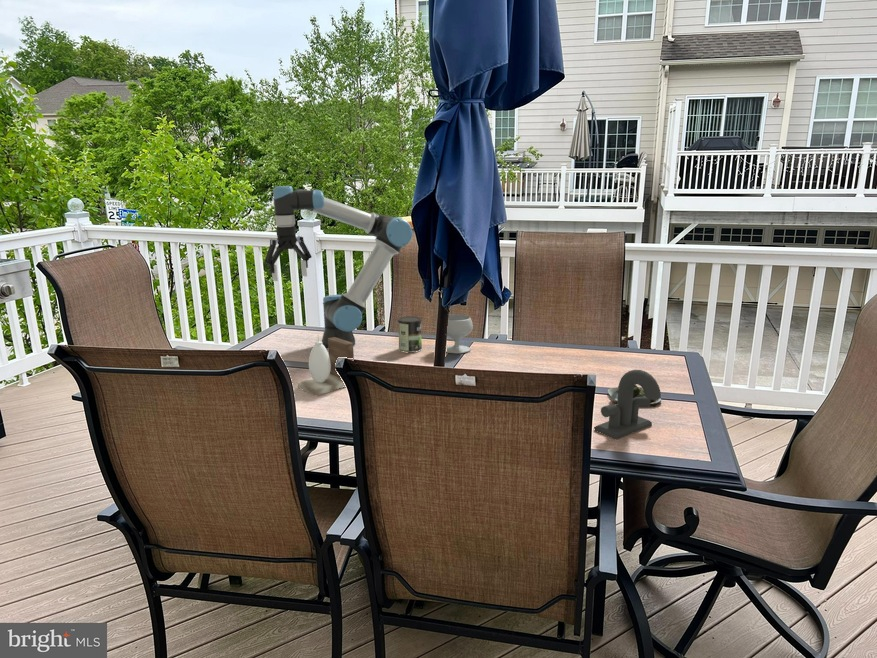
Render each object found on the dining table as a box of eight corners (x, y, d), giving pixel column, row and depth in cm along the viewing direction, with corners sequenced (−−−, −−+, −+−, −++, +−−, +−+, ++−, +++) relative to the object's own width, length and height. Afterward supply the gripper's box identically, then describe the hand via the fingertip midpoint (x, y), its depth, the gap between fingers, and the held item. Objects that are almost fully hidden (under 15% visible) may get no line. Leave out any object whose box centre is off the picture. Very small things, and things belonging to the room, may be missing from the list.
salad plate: (598, 388, 225) (599, 376, 224) (647, 388, 225) (648, 376, 224) (611, 408, 207) (612, 395, 205) (665, 408, 206) (666, 395, 205)
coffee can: (423, 346, 277) (423, 316, 273) (419, 353, 267) (419, 322, 263) (401, 346, 278) (400, 315, 275) (396, 352, 268) (395, 321, 265)
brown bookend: (336, 376, 238) (334, 336, 234) (354, 384, 230) (353, 343, 226) (297, 387, 227) (294, 345, 223) (315, 395, 219) (313, 352, 214)
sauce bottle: (334, 383, 225) (332, 335, 220) (313, 387, 221) (311, 338, 217) (327, 377, 232) (325, 330, 227) (306, 380, 228) (304, 333, 223)
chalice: (456, 344, 281) (456, 311, 277) (479, 350, 271) (479, 317, 267) (434, 350, 271) (434, 317, 267) (457, 357, 262) (457, 322, 258)
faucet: (635, 449, 176) (641, 383, 171) (592, 430, 188) (596, 368, 183) (673, 433, 186) (679, 370, 181) (630, 416, 199) (634, 357, 193)
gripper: (307, 222, 257) (311, 273, 263) (252, 228, 240) (257, 281, 246) (317, 223, 252) (321, 275, 257) (261, 229, 235) (267, 283, 241)
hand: (290, 278), depth 252 cm, fingers open, 13 cm apart
